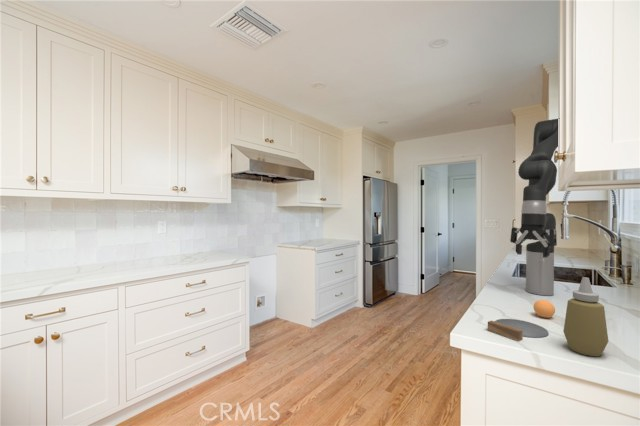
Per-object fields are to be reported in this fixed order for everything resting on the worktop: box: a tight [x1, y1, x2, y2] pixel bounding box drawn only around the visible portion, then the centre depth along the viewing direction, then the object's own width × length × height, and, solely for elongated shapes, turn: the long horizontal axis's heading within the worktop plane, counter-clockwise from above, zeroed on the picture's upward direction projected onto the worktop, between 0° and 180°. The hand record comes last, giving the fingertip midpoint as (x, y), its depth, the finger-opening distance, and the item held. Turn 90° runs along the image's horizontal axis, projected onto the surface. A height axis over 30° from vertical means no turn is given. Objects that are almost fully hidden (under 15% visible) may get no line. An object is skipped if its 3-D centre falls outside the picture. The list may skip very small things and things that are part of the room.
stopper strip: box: [487, 320, 523, 342], centre depth 79 cm, size 2×8×2 cm, turn 32°
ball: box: [533, 299, 556, 319], centre depth 92 cm, size 6×6×6 cm
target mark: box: [494, 318, 549, 339], centre depth 84 cm, size 13×13×1 cm
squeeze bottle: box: [563, 276, 609, 357], centre depth 70 cm, size 8×8×18 cm
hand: (531, 255), depth 108 cm, fingers open, 8 cm apart
